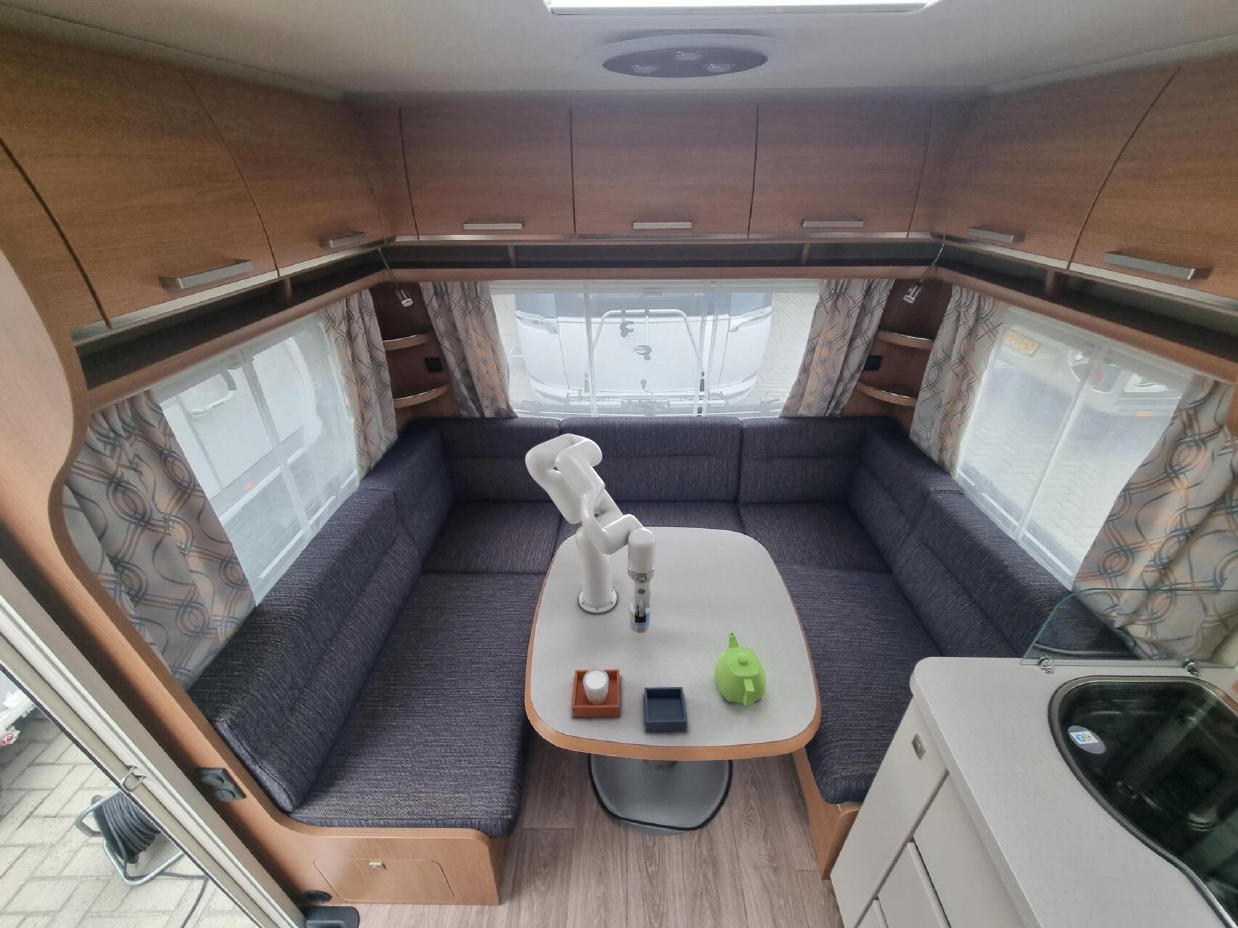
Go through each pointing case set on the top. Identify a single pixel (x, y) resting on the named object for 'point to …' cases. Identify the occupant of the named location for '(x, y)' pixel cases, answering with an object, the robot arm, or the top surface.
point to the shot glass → (596, 686)
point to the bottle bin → (665, 709)
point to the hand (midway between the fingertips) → (639, 612)
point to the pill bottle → (639, 626)
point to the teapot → (740, 674)
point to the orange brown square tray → (587, 709)
